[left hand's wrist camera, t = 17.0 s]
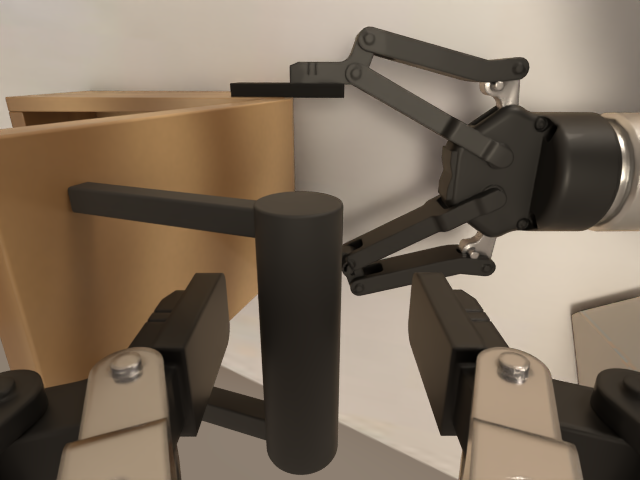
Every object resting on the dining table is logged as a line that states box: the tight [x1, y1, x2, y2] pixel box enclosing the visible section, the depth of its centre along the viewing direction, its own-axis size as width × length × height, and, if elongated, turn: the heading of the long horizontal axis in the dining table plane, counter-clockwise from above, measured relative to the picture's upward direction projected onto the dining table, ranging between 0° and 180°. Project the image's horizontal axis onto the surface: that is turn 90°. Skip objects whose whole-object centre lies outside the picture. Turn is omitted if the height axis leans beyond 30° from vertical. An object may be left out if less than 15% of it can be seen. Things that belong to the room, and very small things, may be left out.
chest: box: [6, 91, 295, 191], centre depth 30 cm, size 16×9×9 cm, turn 90°
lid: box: [0, 98, 343, 475], centre depth 17 cm, size 16×9×8 cm
